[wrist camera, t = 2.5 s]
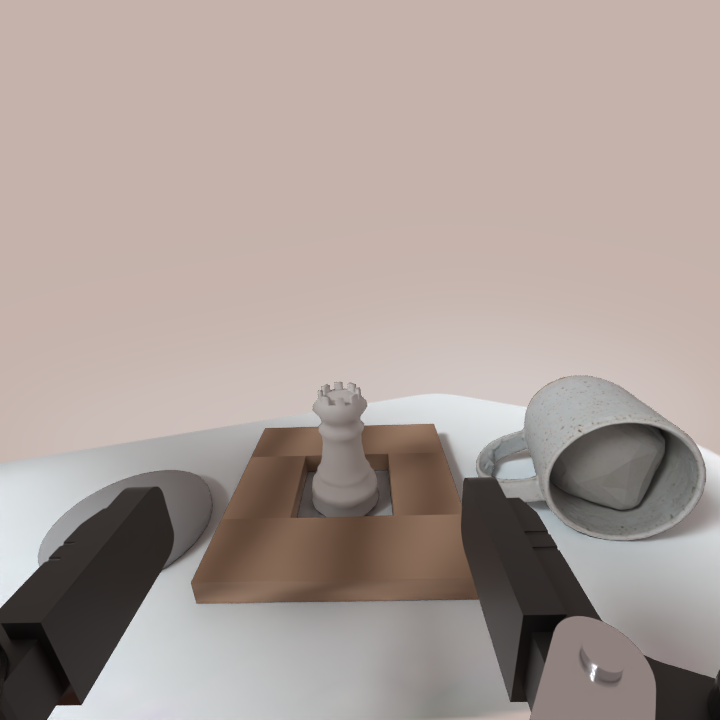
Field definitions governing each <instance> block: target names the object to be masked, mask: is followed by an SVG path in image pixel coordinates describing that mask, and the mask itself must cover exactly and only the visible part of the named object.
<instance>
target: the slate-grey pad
mask: <svg viewBox="0 0 720 720" xmlns="http://www.w3.org/2000/svg"><path fill="white" fill-rule="evenodd" d="M154 486H157V487H159V488H160V489H161V490H162V492H163V494H164V498H165V502H166V505H167V509H168V512H169V516H170V519H171V523H172V526H173V530H174V544H173V548H172V552H171V554H170V556H169V558H168V560H167V562H166V563H165V565H164V567H163V568H162V569H164V568H165V567H167V566H168V565H170V564H171V563H172V562H174V561H175V560H176V559H178V558H179V557H180V556H181V555H183V554H184V553H185V552H186V551H187V550H188V549H189V548H190V547H191V546H192V545H193V544H194V543H195V542H196V541H197V539H198V538H199V537H200V535H201V534H202V533H203V531H204V529H205V528H206V526H207V524H208V522H209V520H210V517H211V513H212V499H211V495H210V490H209V488H208V485H207V484H206V483H205V481H204V480H203V479H201V478H200V477H199V476H197V475H195V474H192V473H189V472H185V471H178V470H164V471H155V472H149V473H144V474H140V475H136V476H133V477H130V478H127V479H124V480H121V481H118V482H116V483H113V484H111V485H109V486H107V487H105V488H103V489H101V490H99V491H97V492H95V493H93V494H92V495H90V496H88V497H87V498H85V499H84V500H82V501H81V502H79V503H78V504H76V505H75V506H74V507H72V508H71V509H70V510H69V511H67V512H66V513H65V514H64V515H63V516H62V517H61V518H60V519H59V520H58V521H57V522H56V523H55V524H54V525H53V526H52V528H51V529H50V530H49V532H48V533H47V534H46V536H45V538H44V539H43V541H42V544H41V546H40V549H39V553H38V563H39V566H41V565H42V564H43V563H44V562H47V561H48V560H49V557H50V556H51V555H52V554H53V553H54V552H55V550H56V549H57V548H58V547H59V546H63V544H64V541H65V540H66V539H67V538H68V537H69V536H70V535H71V534H72V533H73V532H74V531H75V530H76V529H77V527H78V526H79V525H80V524H82V523H83V522H84V521H86V520H87V519H89V518H90V517H92V516H93V515H95V514H96V513H97V512H99V511H100V510H102V509H103V508H107V507H108V506H109V505H110V504H111V503H112V501H113V500H114V499H115V498H116V497H117V496H118V495H119V494H120V493H121V492H122V491H123V490H124V489H126V488H128V487H154Z"/></svg>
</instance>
